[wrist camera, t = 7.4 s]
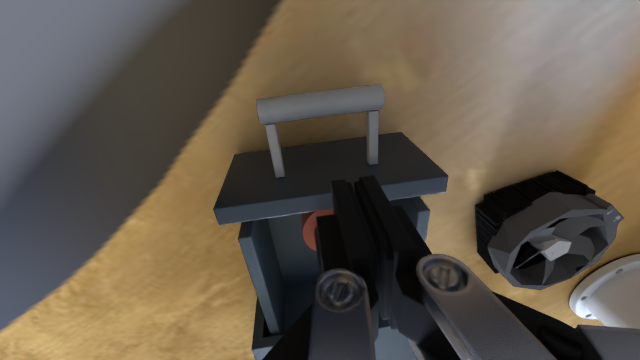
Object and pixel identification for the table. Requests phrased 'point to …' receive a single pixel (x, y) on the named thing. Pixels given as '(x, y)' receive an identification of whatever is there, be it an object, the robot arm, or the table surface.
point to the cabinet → (389, 346)
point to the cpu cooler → (544, 230)
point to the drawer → (313, 191)
